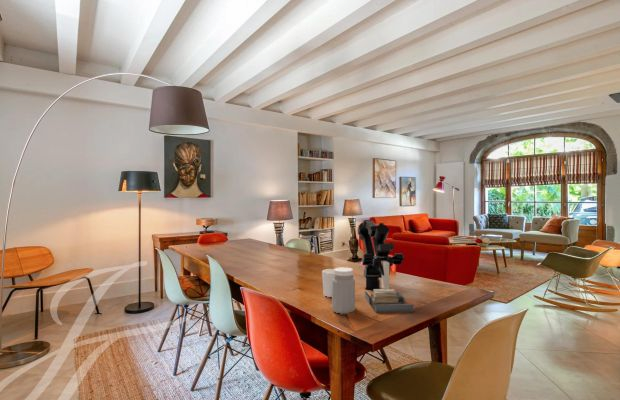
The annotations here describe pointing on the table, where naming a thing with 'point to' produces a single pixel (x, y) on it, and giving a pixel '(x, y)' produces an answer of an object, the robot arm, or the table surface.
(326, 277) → the white cylinder
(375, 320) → the table surface
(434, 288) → the table surface
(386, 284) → the cream rectangular block
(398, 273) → the table surface
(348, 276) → the jar
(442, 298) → the table surface
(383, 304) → the rack
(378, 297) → the offcut stack
